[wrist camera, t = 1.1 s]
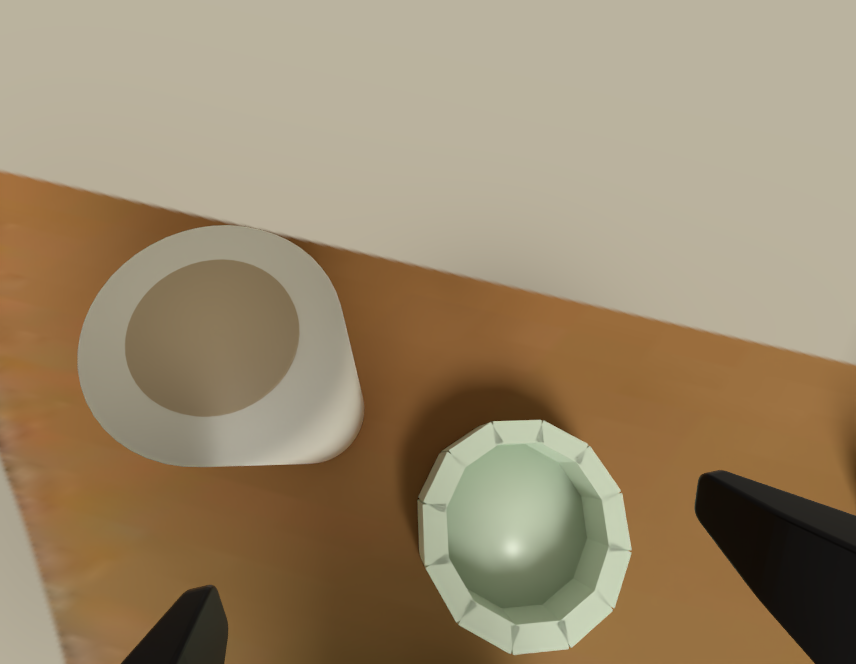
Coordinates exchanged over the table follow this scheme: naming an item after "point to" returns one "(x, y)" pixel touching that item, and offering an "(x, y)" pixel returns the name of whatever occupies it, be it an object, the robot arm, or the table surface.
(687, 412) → the table surface
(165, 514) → the table surface
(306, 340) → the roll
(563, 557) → the holder
